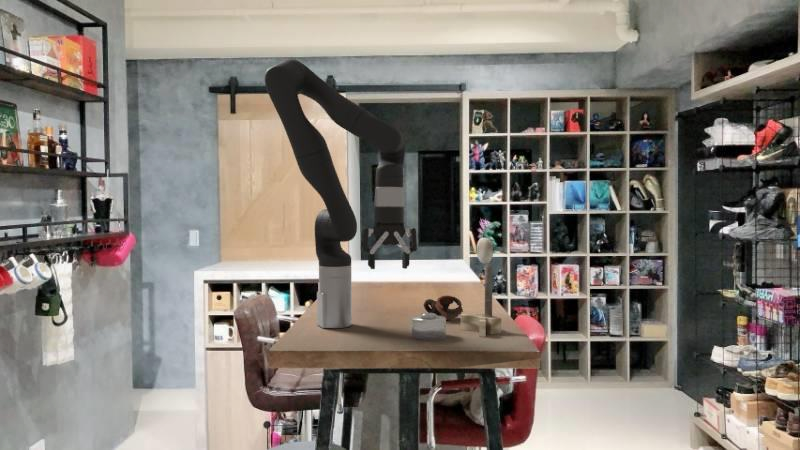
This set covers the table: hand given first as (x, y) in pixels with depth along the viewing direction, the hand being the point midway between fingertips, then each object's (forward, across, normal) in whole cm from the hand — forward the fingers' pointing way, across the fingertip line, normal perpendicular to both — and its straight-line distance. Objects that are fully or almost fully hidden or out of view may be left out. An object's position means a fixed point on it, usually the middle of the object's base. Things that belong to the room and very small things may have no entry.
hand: (388, 268), depth 163 cm
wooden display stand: (+18, +27, +2) cm, 32 cm away
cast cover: (+18, +11, 0) cm, 21 cm away
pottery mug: (+18, +23, +22) cm, 37 cm away
